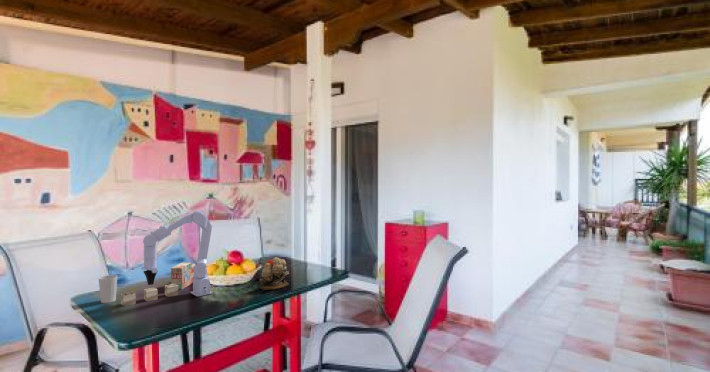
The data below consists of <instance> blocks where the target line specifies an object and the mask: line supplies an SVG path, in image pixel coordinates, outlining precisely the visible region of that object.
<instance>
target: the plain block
mask: <svg viewBox="0 0 710 372" xmlns="http://www.w3.org/2000/svg"><path fill="white" fill-rule="evenodd" d="M158 297H159V293H158V289H157V288H156V287H148V288H145V289H143V299H145V300H144V301H146V302H151V301H155V300H158V299H159V298H158Z"/></svg>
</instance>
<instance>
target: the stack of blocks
mask: <svg viewBox="0 0 710 372" xmlns="http://www.w3.org/2000/svg"><path fill="white" fill-rule="evenodd" d="M195 264H196V263H192V262H180V263H178V264H176V265H174V266H172V267H171V268H170V279H171V280H170V284H176V285H178V290H183V289H186V288H187V287H188V286H190V285H191V284H193V276H194V275H195V274H194V266H195Z"/></svg>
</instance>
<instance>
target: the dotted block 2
mask: <svg viewBox="0 0 710 372" xmlns="http://www.w3.org/2000/svg"><path fill="white" fill-rule="evenodd" d="M164 295H165V296H166V297H168V298H169V297H174V296H178V295H179V289H178V285H176V284H171V283H170V284H166V285H164Z"/></svg>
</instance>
